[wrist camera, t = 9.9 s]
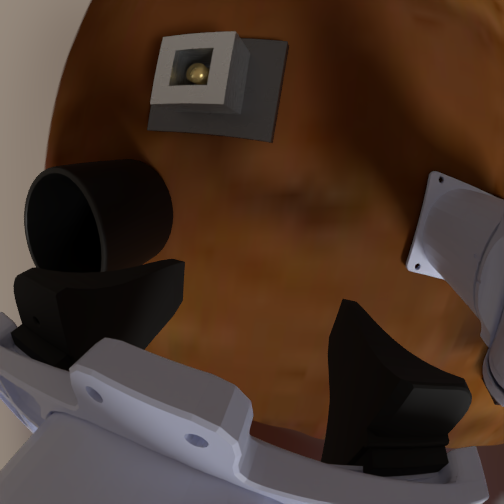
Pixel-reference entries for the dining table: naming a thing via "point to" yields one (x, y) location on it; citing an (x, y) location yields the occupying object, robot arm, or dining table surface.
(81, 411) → the robot arm
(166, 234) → the mug
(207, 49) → the gray square hollow block
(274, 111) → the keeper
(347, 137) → the dining table surface
